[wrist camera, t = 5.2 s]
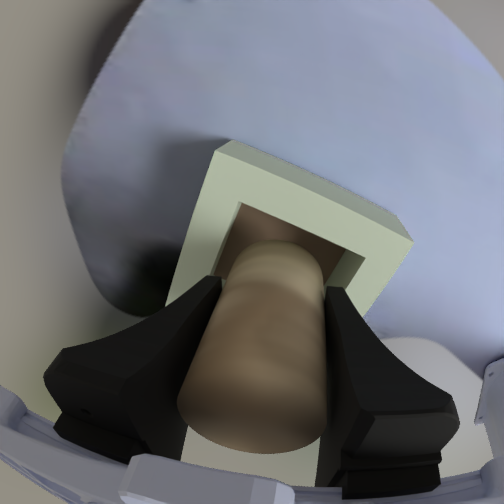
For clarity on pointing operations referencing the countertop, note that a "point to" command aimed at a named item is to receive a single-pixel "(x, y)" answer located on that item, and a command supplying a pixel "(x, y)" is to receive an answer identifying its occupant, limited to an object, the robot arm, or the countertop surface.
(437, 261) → the countertop surface
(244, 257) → the peg
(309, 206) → the socket
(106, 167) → the countertop surface
